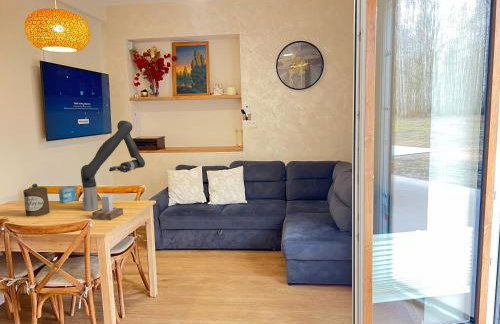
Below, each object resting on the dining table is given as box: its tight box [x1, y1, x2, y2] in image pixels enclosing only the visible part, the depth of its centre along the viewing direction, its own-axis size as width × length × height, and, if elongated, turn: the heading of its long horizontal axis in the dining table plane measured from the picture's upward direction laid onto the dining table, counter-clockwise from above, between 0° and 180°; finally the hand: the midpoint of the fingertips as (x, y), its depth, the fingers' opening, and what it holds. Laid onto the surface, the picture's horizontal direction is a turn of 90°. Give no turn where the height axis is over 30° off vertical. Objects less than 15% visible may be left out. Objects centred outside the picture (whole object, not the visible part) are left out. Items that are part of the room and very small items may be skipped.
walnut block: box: [91, 207, 124, 221], centre depth 254 cm, size 14×14×5 cm
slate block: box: [101, 194, 114, 211], centre depth 253 cm, size 5×5×10 cm
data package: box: [58, 185, 77, 204], centre depth 301 cm, size 12×4×12 cm, turn 155°
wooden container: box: [22, 183, 50, 217], centre depth 264 cm, size 15×15×22 cm
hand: (115, 170), depth 263 cm, fingers open, 8 cm apart
